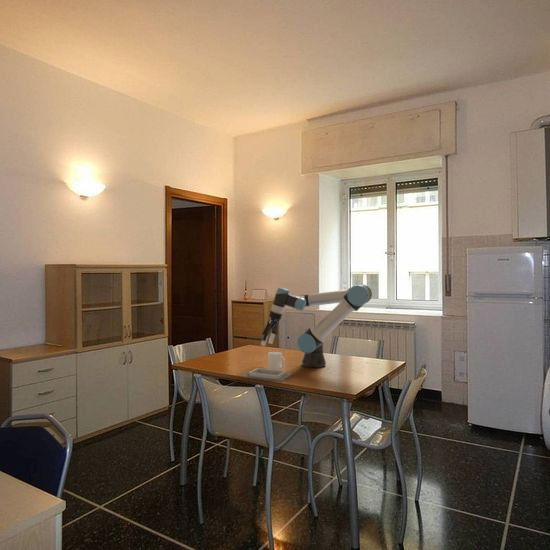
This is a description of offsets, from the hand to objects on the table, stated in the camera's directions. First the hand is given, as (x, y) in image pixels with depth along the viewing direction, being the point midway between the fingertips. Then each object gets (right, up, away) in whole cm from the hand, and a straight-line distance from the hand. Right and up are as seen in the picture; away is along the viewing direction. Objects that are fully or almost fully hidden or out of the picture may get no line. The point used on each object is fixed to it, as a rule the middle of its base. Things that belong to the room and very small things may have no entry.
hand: (266, 344), depth 278 cm
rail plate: (+1, -14, -27) cm, 30 cm away
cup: (+6, -14, -12) cm, 20 cm away
